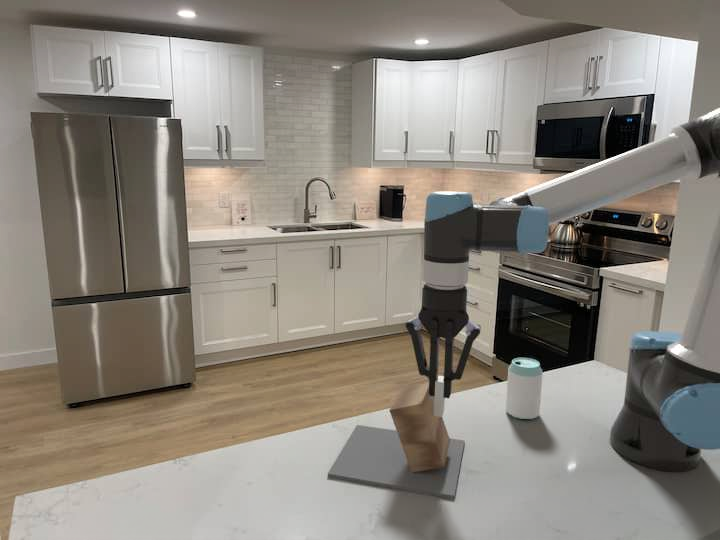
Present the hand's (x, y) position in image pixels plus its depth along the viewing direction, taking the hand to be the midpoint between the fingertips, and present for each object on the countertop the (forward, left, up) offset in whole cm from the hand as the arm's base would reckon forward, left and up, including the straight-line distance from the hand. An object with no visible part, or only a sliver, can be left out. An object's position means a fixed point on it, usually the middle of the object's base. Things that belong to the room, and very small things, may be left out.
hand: (439, 412), depth 93 cm
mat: (+7, 0, -10) cm, 12 cm away
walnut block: (+1, 0, -9) cm, 9 cm away
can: (-15, -25, -11) cm, 31 cm away
